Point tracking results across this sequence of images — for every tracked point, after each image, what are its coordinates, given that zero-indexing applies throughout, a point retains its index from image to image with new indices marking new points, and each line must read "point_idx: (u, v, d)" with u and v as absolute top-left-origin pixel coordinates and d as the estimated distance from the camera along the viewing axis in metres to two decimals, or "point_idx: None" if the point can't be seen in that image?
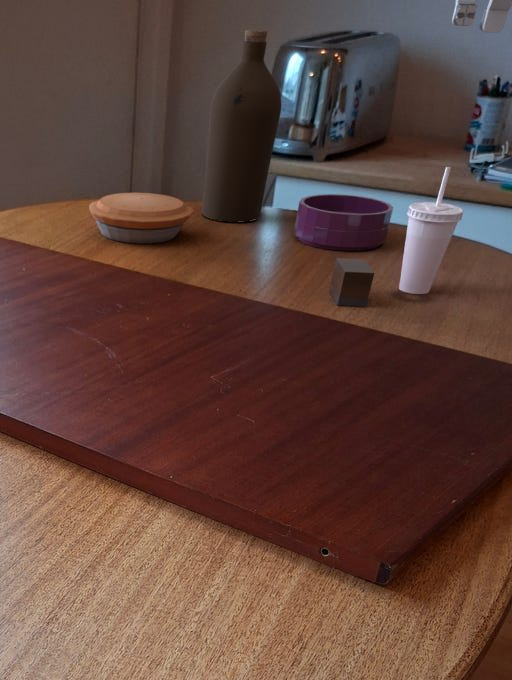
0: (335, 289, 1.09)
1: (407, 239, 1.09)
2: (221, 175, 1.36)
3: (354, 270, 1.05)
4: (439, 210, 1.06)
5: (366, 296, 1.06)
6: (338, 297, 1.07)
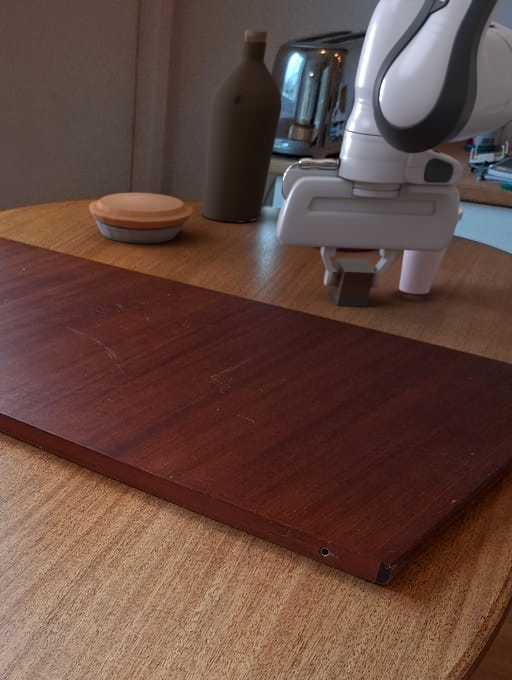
0: (335, 289, 1.09)
1: None
2: (221, 175, 1.36)
3: (354, 270, 1.05)
4: None
5: (366, 296, 1.06)
6: (338, 297, 1.07)
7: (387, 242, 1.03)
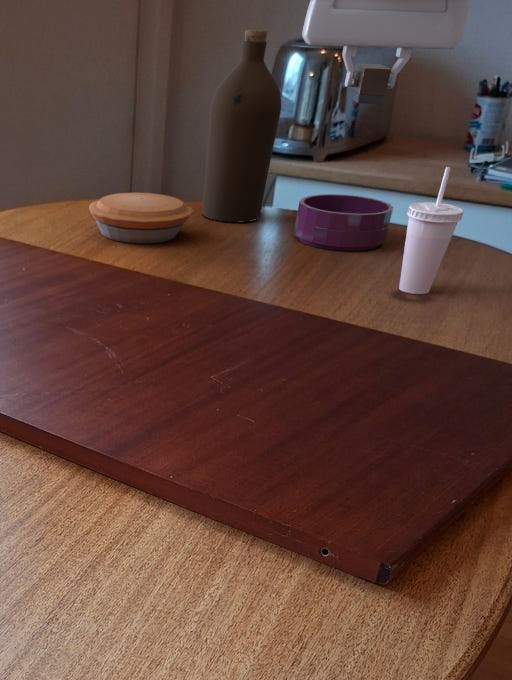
0: (355, 90, 1.20)
1: (407, 239, 1.09)
2: (221, 175, 1.36)
3: (373, 67, 1.16)
4: (439, 210, 1.06)
5: (383, 93, 1.17)
6: (358, 95, 1.18)
7: (403, 40, 1.15)
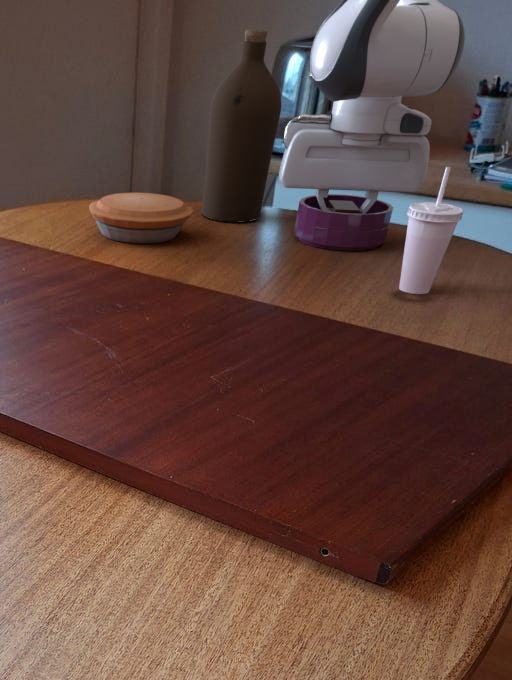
0: None
1: (407, 239, 1.09)
2: (221, 175, 1.36)
3: (343, 208, 1.27)
4: (439, 210, 1.06)
5: None
6: None
7: (370, 184, 1.25)
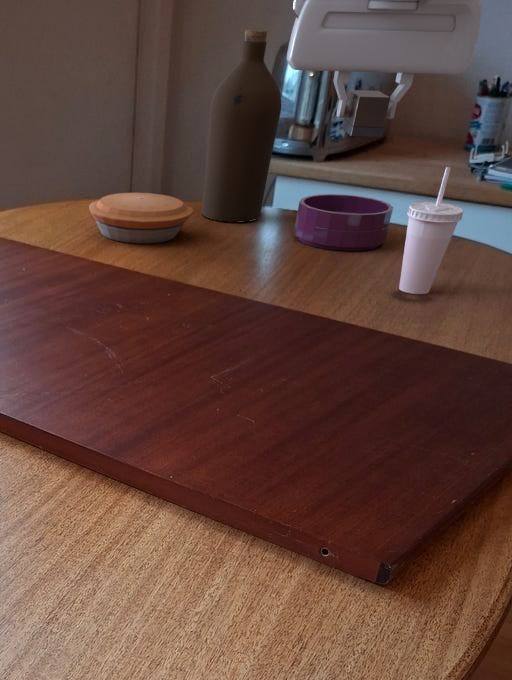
0: (348, 121, 1.04)
1: (407, 239, 1.09)
2: (221, 175, 1.36)
3: (369, 96, 1.00)
4: (439, 210, 1.06)
5: (381, 125, 1.01)
6: (352, 127, 1.02)
7: (404, 64, 0.98)
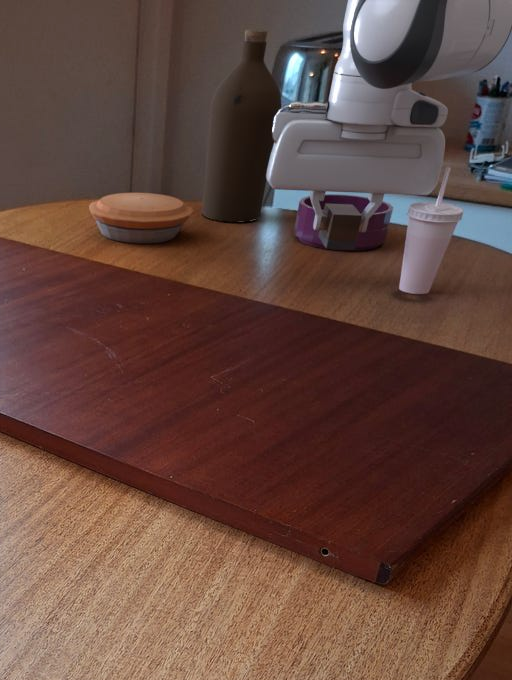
0: (324, 233, 1.11)
1: (407, 239, 1.09)
2: (221, 175, 1.36)
3: (343, 213, 1.08)
4: (439, 210, 1.06)
5: (354, 239, 1.09)
6: (327, 240, 1.10)
7: (375, 185, 1.06)
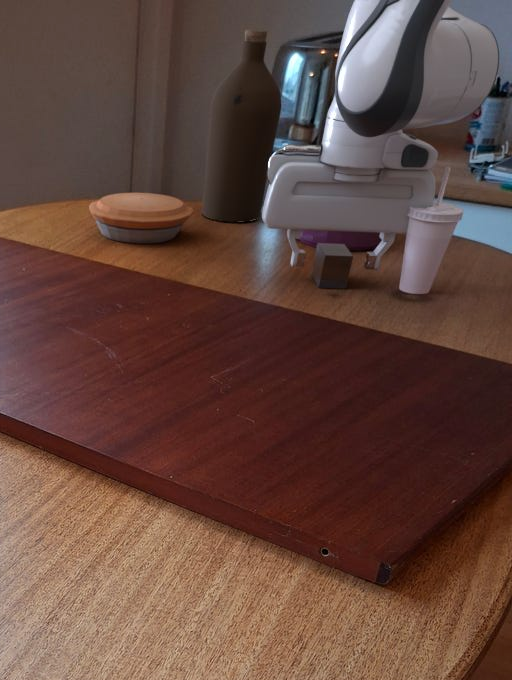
0: (316, 272, 1.14)
1: (407, 239, 1.09)
2: (221, 175, 1.36)
3: (334, 253, 1.11)
4: (439, 210, 1.06)
5: (345, 279, 1.12)
6: (319, 280, 1.13)
7: (367, 225, 1.09)
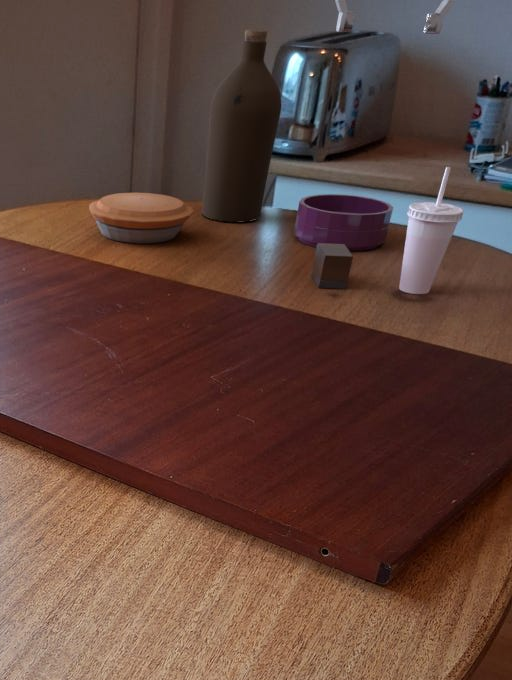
0: (316, 272, 1.14)
1: (407, 239, 1.09)
2: (221, 175, 1.36)
3: (334, 253, 1.11)
4: (439, 210, 1.06)
5: (345, 279, 1.12)
6: (319, 280, 1.13)
7: None
